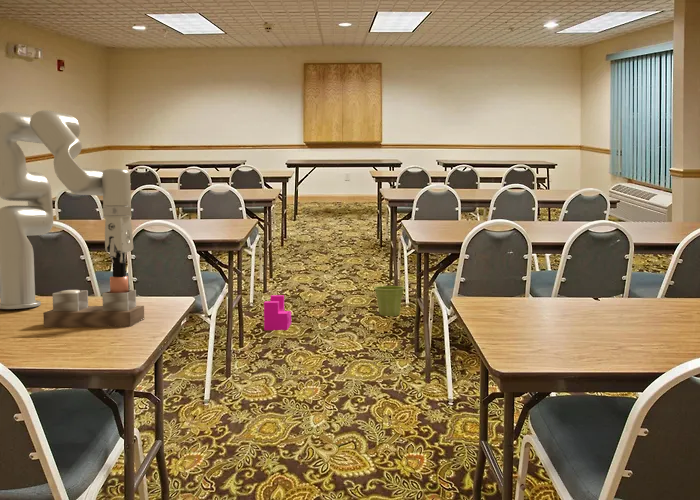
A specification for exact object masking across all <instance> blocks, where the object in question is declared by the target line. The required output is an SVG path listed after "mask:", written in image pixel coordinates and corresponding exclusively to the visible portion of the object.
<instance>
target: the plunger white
mask: <svg viewBox="0 0 700 500" xmlns="http://www.w3.org/2000/svg"><path fill="white" fill-rule="evenodd" d="M78 292H80V289H67V290H66V289H65V290H61V293H78Z"/></svg>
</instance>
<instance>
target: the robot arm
mask: <svg viewBox="0 0 700 500" xmlns="http://www.w3.org/2000/svg"><path fill="white" fill-rule="evenodd" d="M80 134H81V125H80V123H79V121H78V119H77V118H76V117H74V116H73V115H71V114H68V113H64V112H60V111H54V110H53V111H52V110H48V109H47V110H46V109H43V110H39V111H36V112H35V113H33V114H29V113H22V112H15V111H3V112H0V199H2V200H4V201H9V202H27V205H7V206H3V207H0V310H15V309H16V310H18V309H19V310H20V309H28V308H35V307H39V306H41V305H42V303H41V300H36V284H35V256H34V255H35V254H34V248H33V245H32V243H31V241H30V240H29V238H28V237H30V236H43V235H46V234H48V233H50V232H51V230H52V228H53V226H54V209H53V195H52V194H53V193H52V187H51V183H50V181H49V179H48V178H47V177H46V176H45V175H44V174H42V173H40V172H38V171H28V170H27V169H28V168H27V162H26V161H27V160H26V155H25V153H24V151H23V149H22V148H21V147H20V145H19V144H18V143H17V142H19V141H20V142H23V143H24V142H25V143H26V142H27V143H33V144H34V143H35V144H43V145H44V146H45V147H46V148H47V149H48V151H49V152H50V153H51V154H52V155H53V157H54V158H53V169H54V173H55V175H56V177H57V179H58V180H59V181H60V182H61V184H63V185H64V187H65V188H66V189H68V190H69V191H70V192H71V193H73V194H75V195H78V196H98V197H99V196H100V197H101V196H102V212H103V213H102V215H103V216H102V217H103V218H104V219H105V221H104V222H105V223H104V225H105V226H104V247H105V248H104V249H105V251H106V252H107V253H109V258H111V263H112V276H113V277H125V276H127V267H126V264H127V255H128V252H132V251H133V250H134V238H133V237H134V236H133V235H134V234H133V226H132V221H131V220H132V219H131V218H132V193H131V192H132V191H131V188H132V187H131V186H132V185H131V173H130V171H129V170H127V169H124V168H107V169H96V168H87V167H86V168H85V167H80V166H79V164H78V163H77V162H76V160H74V159H76V158H77V157H78V156H79V155H80V153H81V151H82V148H83V145H82V142H81V140H80V139H79V136H80Z"/></svg>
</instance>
